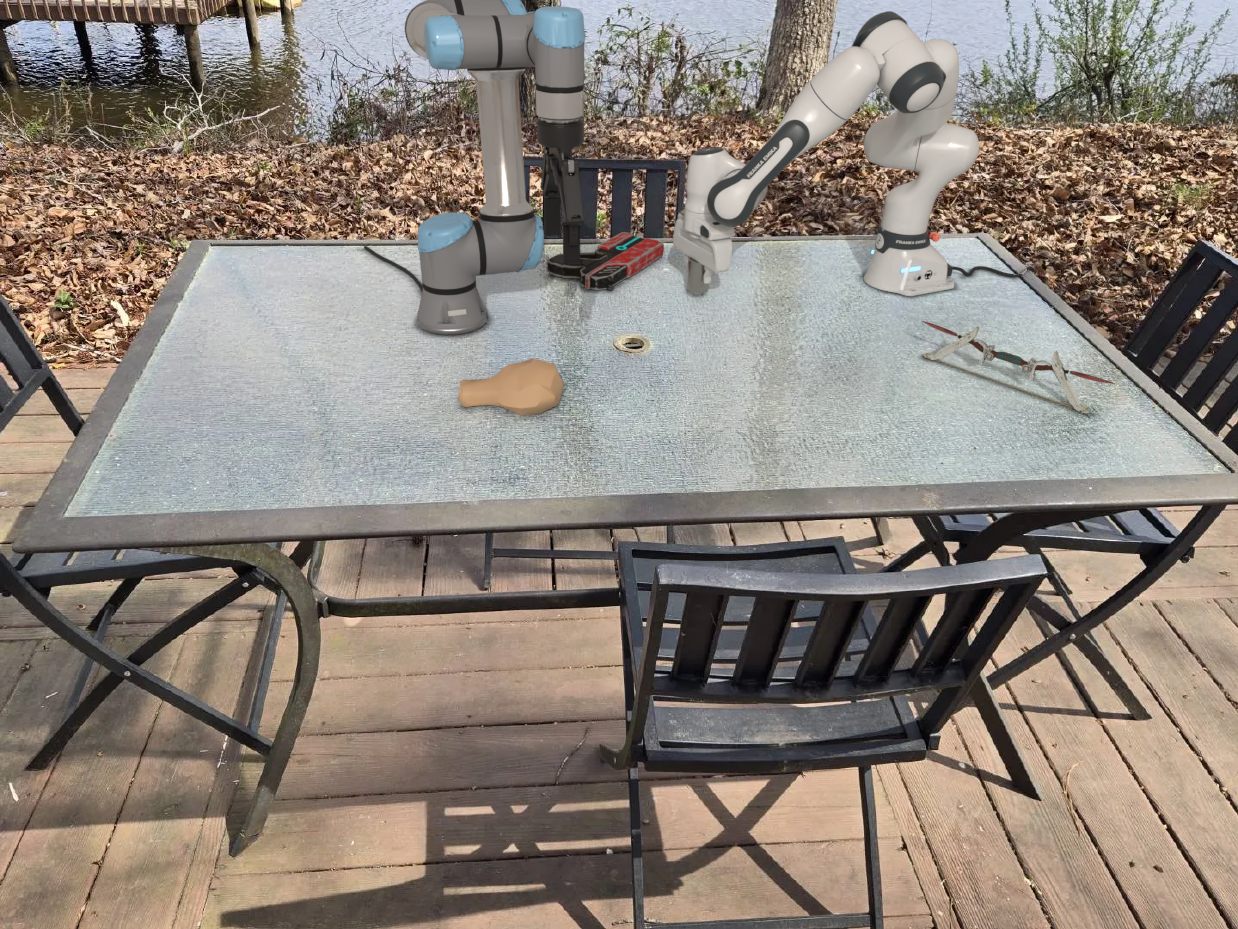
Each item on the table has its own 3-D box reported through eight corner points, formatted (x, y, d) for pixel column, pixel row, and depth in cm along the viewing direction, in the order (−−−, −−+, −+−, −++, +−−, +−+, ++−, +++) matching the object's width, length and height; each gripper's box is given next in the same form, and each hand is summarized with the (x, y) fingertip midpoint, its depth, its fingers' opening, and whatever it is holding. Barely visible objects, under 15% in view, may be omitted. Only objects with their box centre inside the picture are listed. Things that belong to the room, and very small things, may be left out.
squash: (565, 421, 162) (558, 383, 156) (459, 429, 164) (448, 392, 158) (568, 385, 170) (561, 347, 164) (467, 393, 172) (456, 356, 165)
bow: (1102, 416, 168) (1120, 369, 163) (1099, 419, 167) (1116, 372, 162) (916, 351, 190) (927, 308, 184) (912, 354, 189) (923, 311, 183)
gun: (540, 260, 217) (606, 279, 209) (606, 224, 239) (668, 240, 231) (540, 277, 220) (606, 296, 212) (605, 240, 242) (667, 256, 234)
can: (684, 291, 209) (686, 261, 205) (689, 284, 213) (691, 253, 209) (705, 294, 208) (707, 264, 204) (710, 287, 212) (712, 256, 208)
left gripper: (604, 135, 129) (602, 272, 141) (564, 100, 149) (565, 223, 161) (555, 138, 127) (557, 276, 139) (521, 101, 147) (525, 226, 159)
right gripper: (668, 209, 208) (665, 265, 215) (715, 235, 193) (710, 294, 200) (690, 206, 210) (687, 261, 218) (739, 231, 195) (733, 290, 203)
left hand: (561, 248), depth 150 cm, fingers open, 13 cm apart
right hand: (698, 277), depth 209 cm, fingers closed on can, 5 cm apart
